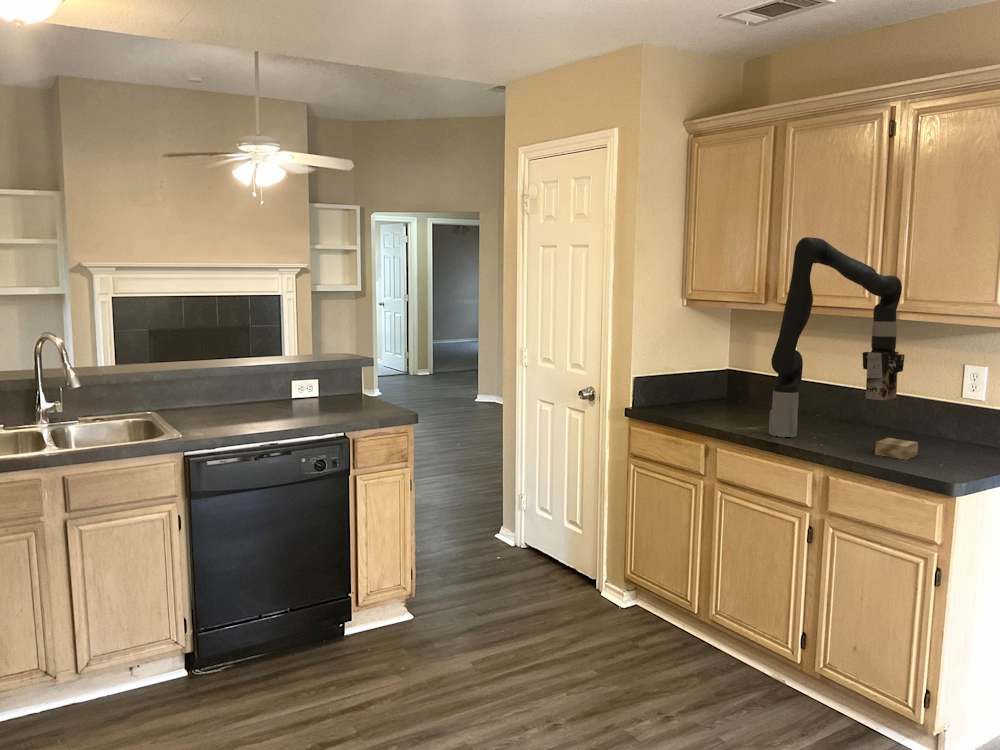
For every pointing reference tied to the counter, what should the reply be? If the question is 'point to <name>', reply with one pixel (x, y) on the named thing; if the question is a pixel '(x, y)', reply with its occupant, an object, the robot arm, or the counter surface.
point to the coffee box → (879, 377)
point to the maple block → (896, 448)
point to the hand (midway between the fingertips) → (881, 383)
